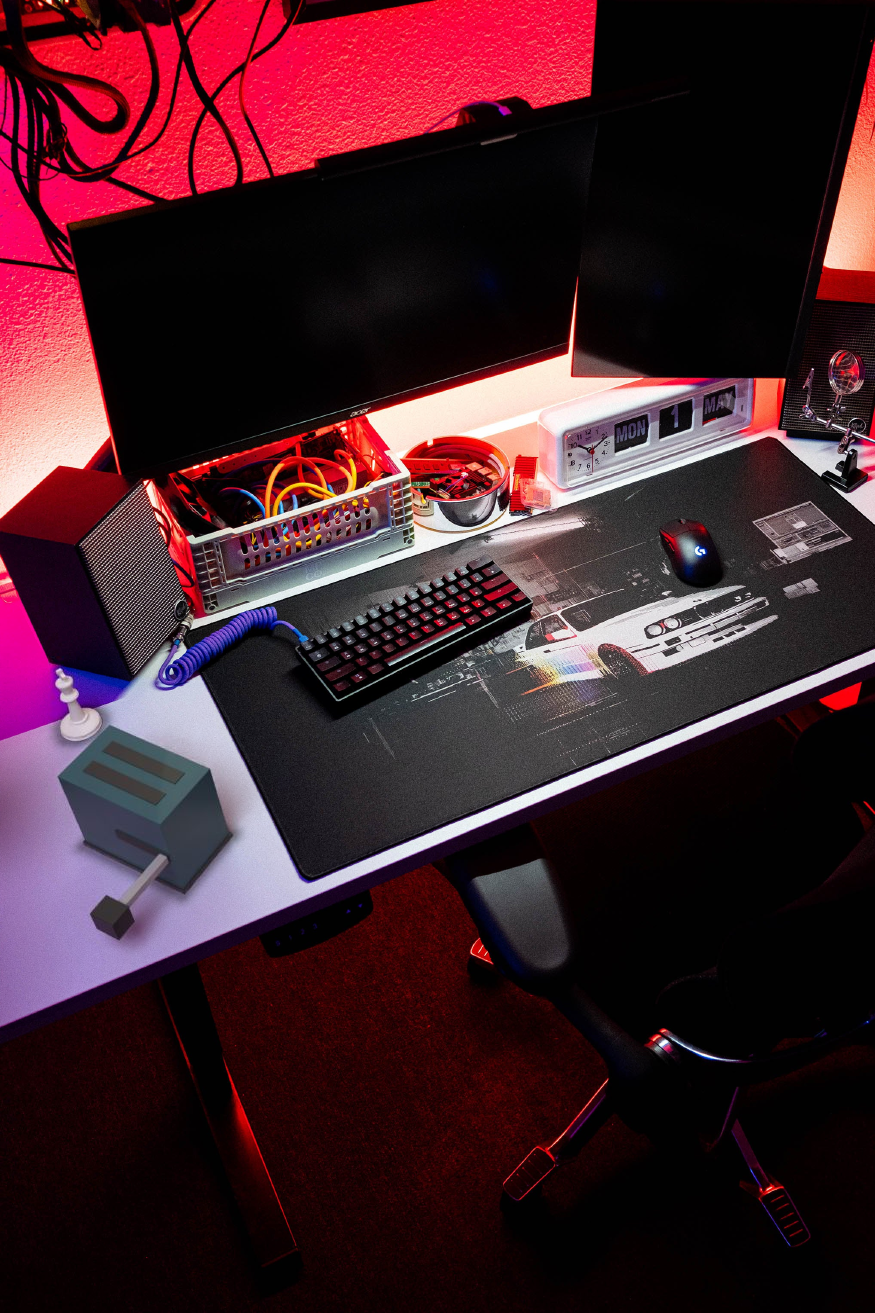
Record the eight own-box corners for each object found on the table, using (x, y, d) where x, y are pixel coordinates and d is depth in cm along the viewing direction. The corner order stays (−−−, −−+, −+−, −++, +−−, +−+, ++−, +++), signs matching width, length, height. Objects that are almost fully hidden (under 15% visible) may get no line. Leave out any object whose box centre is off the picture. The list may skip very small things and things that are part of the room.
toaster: (184, 894, 122) (160, 826, 114) (83, 845, 127) (53, 776, 119) (233, 836, 128) (212, 767, 120) (134, 790, 133) (109, 722, 125)
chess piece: (74, 747, 138) (51, 691, 132) (53, 727, 141) (29, 671, 134) (109, 724, 141) (89, 668, 134) (88, 705, 143) (67, 649, 137)
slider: (119, 941, 113) (112, 925, 111) (96, 929, 114) (89, 913, 112) (178, 871, 119) (172, 855, 117) (156, 860, 120) (150, 844, 118)
